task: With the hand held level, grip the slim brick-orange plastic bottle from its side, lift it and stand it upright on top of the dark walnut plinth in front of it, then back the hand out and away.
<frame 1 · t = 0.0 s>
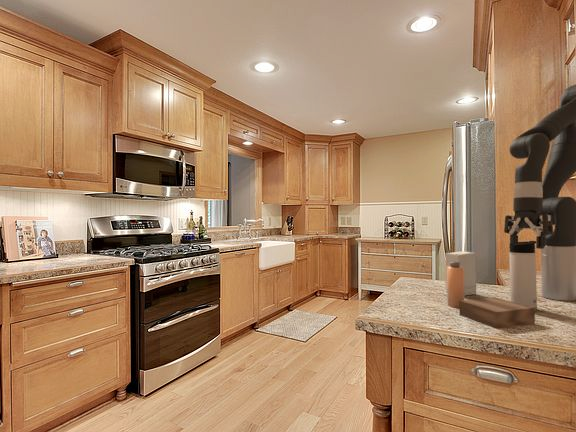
hand: (526, 247, 104), 17 cm above the countertop, tool pointing down, fingers open, 8 cm apart
skincare box: (461, 294, 115), on the countertop
travel mug: (524, 309, 96), on the countertop
orange bottle: (456, 305, 100), on the countertop
walnut plinth: (495, 318, 87), on the countertop
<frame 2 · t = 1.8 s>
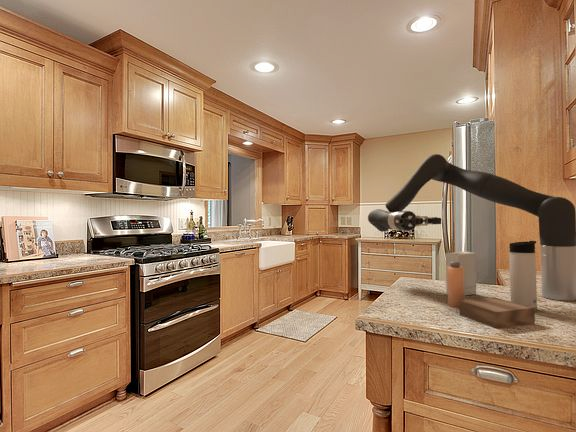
hand: (429, 221, 111), 26 cm above the countertop, tool horizontal, fingers open, 8 cm apart
nothing on the countertop moved.
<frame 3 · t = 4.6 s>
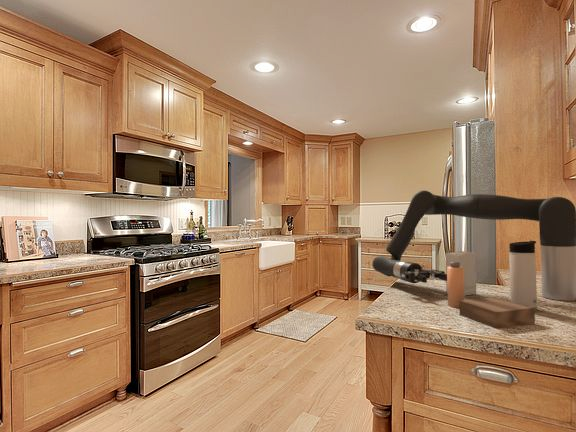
hand: (437, 278, 109), 7 cm above the countertop, tool horizontal, fingers open, 8 cm apart
nothing on the countertop moved.
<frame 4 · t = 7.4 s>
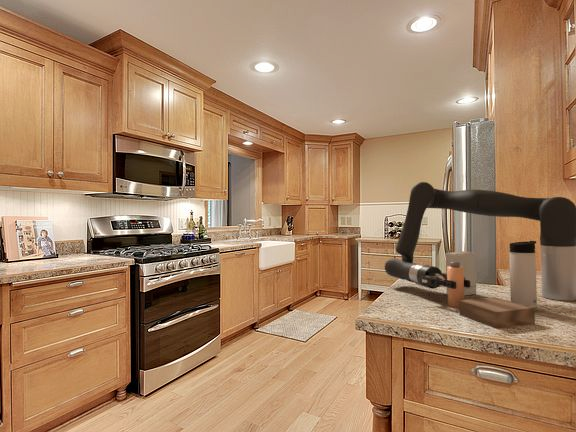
hand: (462, 284, 98), 7 cm above the countertop, tool horizontal, fingers closed on orange bottle, 4 cm apart
orange bottle: (456, 305, 100), on the countertop, touching gripper
everything else where it was.
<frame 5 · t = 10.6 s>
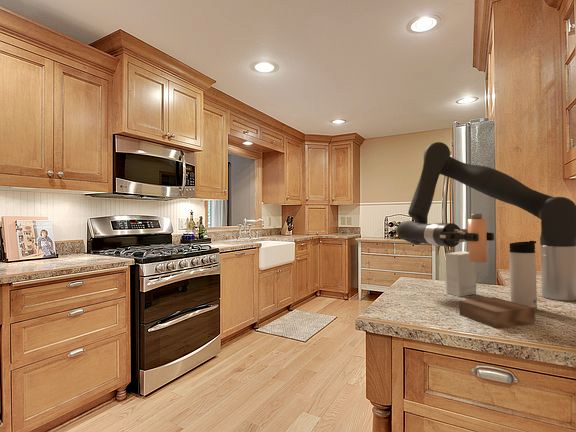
hand: (485, 237, 89), 22 cm above the countertop, tool horizontal, fingers closed on orange bottle, 4 cm apart
orange bottle: (477, 261, 92), point 15 cm above the countertop, touching gripper
everything else where it was.
when the fingers open (12 cm above the countertop, at t = 13.8 s): orange bottle drops 1 cm, resting on walnut plinth.
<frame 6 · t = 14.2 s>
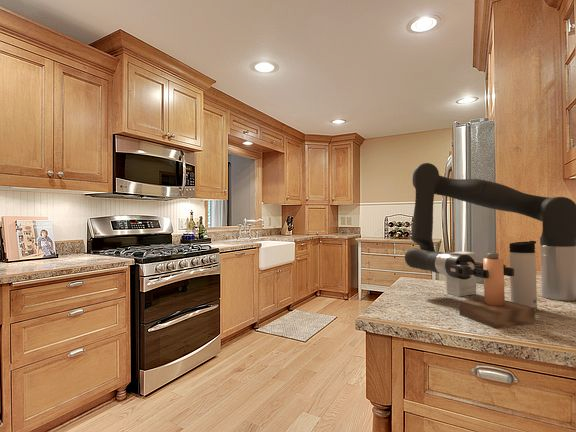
hand: (500, 273, 85), 13 cm above the countertop, tool horizontal, fingers open, 8 cm apart
orange bottle: (494, 303, 87), point 4 cm above the countertop, touching walnut plinth
everything else where it was.
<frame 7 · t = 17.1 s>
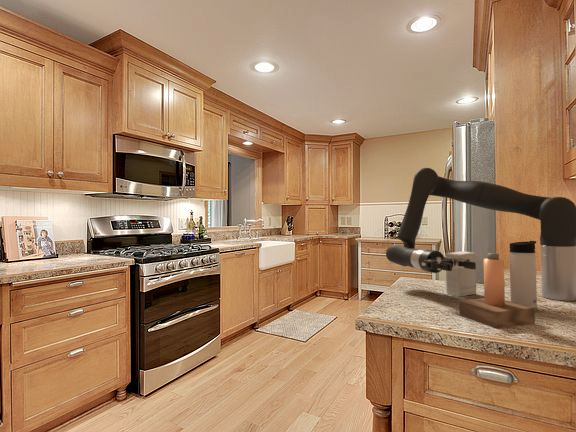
hand: (463, 266, 97), 13 cm above the countertop, tool horizontal, fingers open, 8 cm apart
nothing on the countertop moved.
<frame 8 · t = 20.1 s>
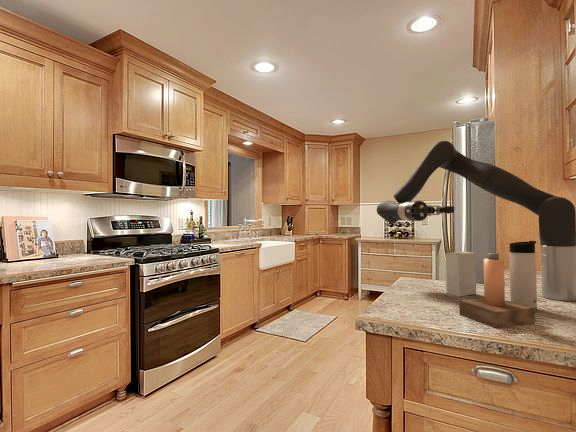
hand: (442, 209, 108), 30 cm above the countertop, tool horizontal, fingers open, 8 cm apart
nothing on the countertop moved.
at the end: orange bottle inside the target area on the walnut plinth (0.1 cm from its centre), point 4.0 cm above the walnut plinth's base; orange bottle tilted 0°; the gripper is holding nothing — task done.
